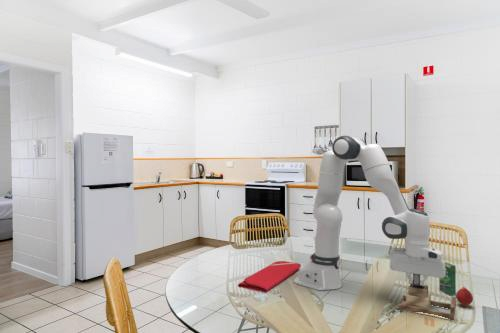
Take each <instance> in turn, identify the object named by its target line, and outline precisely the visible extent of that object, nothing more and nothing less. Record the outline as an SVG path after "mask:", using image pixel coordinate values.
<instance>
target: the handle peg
mask: <svg viewBox="0 0 500 333" xmlns="http://www.w3.org/2000/svg"><path fill="white" fill-rule="evenodd" d="M412 279H413V287H414V288H420V280H421V275H419V274H413V273H412Z"/></svg>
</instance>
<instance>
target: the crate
mask: <svg viewBox="0 0 500 333" xmlns="http://www.w3.org/2000/svg"><path fill="white" fill-rule="evenodd" d="M431 296H432V294H431V292H429V285H426V284H424V286H420V288H414V287H413V284H409V285H408V290H407V293H406V305H409V306H414V307H419V308H424V309H429V308H431V307H432V306H431V300H432V297H431ZM429 310H430V309H429Z"/></svg>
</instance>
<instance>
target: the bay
mask: <svg viewBox="0 0 500 333" xmlns="http://www.w3.org/2000/svg"><path fill="white" fill-rule="evenodd" d="M456 302H457V298H456V296H451V302H450V303H449V302H442V301H437V300H432V299H431V305H433V306H439V307H444V308H448V309H447V310H449V309H450V310H449V311H450V312H443V311H439V310H433V309H424V308H419V307H414V306H409V305H406V295H405V294H403V295H402V303H398V304H397V306H398V307H397V309H398V311H399V310H400V311H402V312H403V311H404V312H408V311H411V312H410V313H413V312H423V313H428V314H434V315H438V316H442V317H445V318H448V319H450V320H449V321H451V320H454V321H455V318H456V311H457V308H456V307H457V305H456V304H457V303H456ZM433 306H432V307H433ZM454 317H455V318H454Z"/></svg>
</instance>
